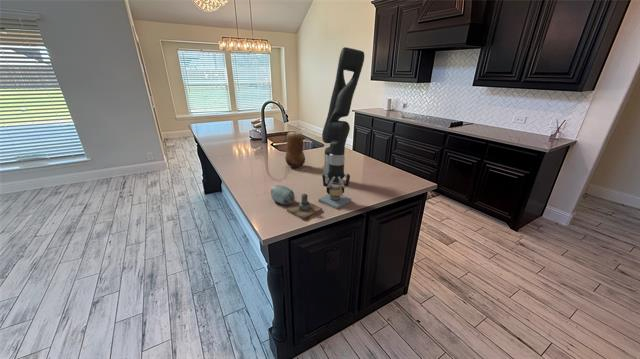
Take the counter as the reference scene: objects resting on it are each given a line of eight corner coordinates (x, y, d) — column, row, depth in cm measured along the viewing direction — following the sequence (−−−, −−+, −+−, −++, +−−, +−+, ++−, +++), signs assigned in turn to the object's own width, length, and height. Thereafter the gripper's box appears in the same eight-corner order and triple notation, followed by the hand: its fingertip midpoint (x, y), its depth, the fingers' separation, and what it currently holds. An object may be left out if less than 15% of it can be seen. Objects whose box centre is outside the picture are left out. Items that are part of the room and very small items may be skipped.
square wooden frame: (329, 195, 125) (329, 190, 124) (328, 190, 131) (328, 184, 130) (342, 195, 126) (342, 190, 124) (340, 190, 131) (341, 184, 130)
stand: (286, 211, 120) (286, 195, 117) (304, 202, 128) (304, 187, 125) (304, 220, 112) (304, 203, 109) (322, 211, 121) (322, 195, 117)
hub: (318, 201, 130) (318, 186, 127) (333, 194, 138) (333, 179, 135) (336, 209, 122) (337, 193, 119) (351, 201, 131) (352, 186, 127)
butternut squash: (306, 164, 183) (306, 130, 173) (303, 171, 171) (303, 134, 161) (287, 163, 184) (286, 129, 175) (283, 170, 172) (282, 133, 162)
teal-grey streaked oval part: (301, 196, 127) (291, 182, 122) (289, 210, 123) (278, 196, 118) (286, 194, 137) (275, 180, 132) (274, 206, 133) (263, 193, 128)
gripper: (322, 164, 118) (321, 196, 125) (352, 164, 119) (350, 196, 125) (321, 159, 125) (320, 190, 132) (350, 159, 126) (348, 190, 132)
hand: (335, 193), depth 128 cm, fingers closed on square wooden frame, 6 cm apart
